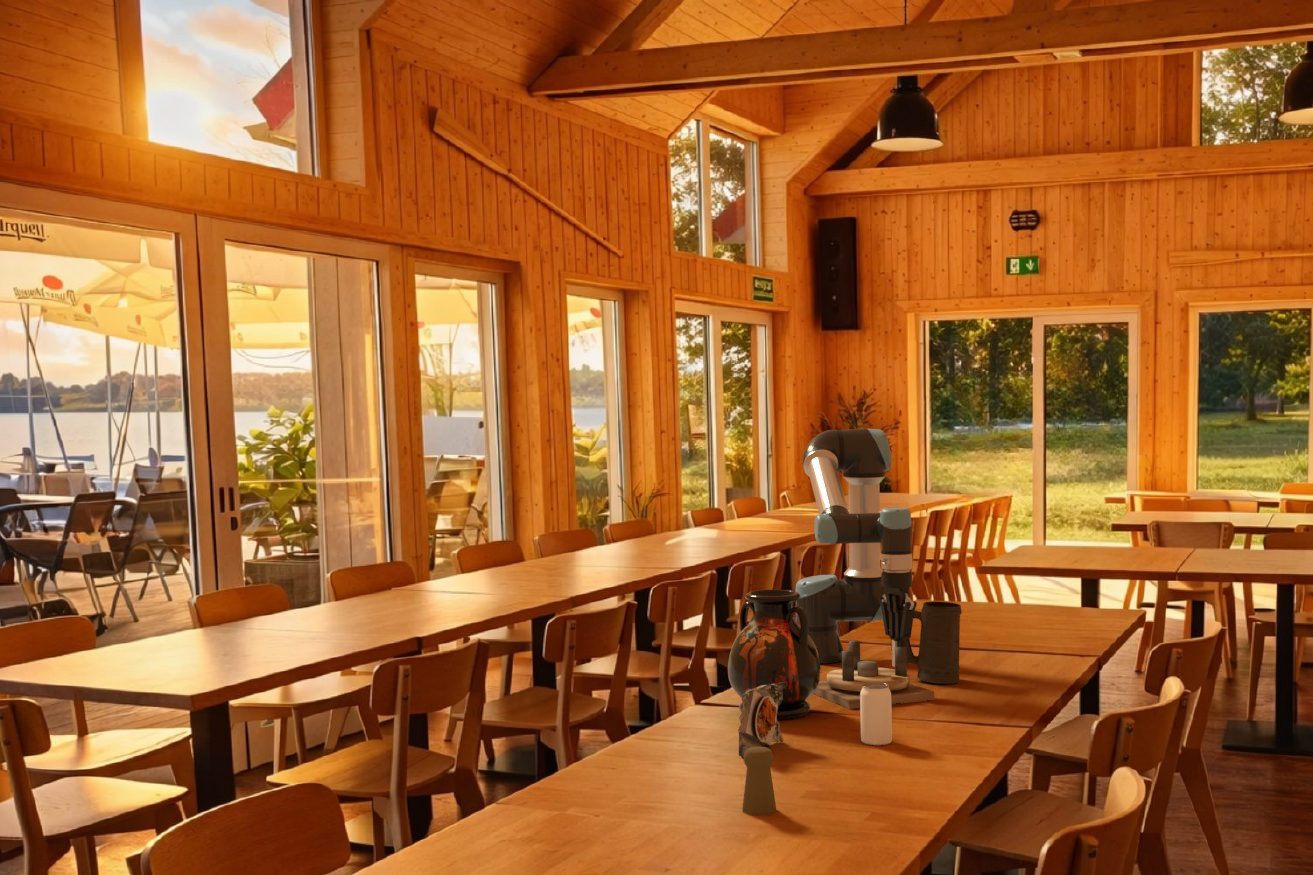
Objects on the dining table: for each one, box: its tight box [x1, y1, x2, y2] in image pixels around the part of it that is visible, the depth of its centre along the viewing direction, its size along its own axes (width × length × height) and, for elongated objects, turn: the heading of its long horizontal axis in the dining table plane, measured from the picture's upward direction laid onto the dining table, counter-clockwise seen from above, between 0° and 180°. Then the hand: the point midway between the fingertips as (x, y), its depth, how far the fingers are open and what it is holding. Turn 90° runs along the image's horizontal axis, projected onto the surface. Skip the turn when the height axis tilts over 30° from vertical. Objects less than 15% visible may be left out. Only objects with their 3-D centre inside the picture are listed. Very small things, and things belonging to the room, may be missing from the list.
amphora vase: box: [727, 589, 822, 721], centre depth 301 cm, size 22×22×28 cm
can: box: [859, 683, 893, 747], centre depth 272 cm, size 6×6×12 cm
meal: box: [738, 681, 788, 759], centre depth 268 cm, size 15×4×13 cm, turn 149°
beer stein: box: [905, 601, 963, 685], centre depth 333 cm, size 15×11×20 cm
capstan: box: [826, 640, 911, 692], centre depth 318 cm, size 20×20×9 cm
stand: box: [812, 679, 935, 710], centre depth 318 cm, size 23×23×2 cm
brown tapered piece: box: [741, 746, 777, 817], centre depth 227 cm, size 6×6×11 cm
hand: (898, 665), depth 320 cm, fingers closed
